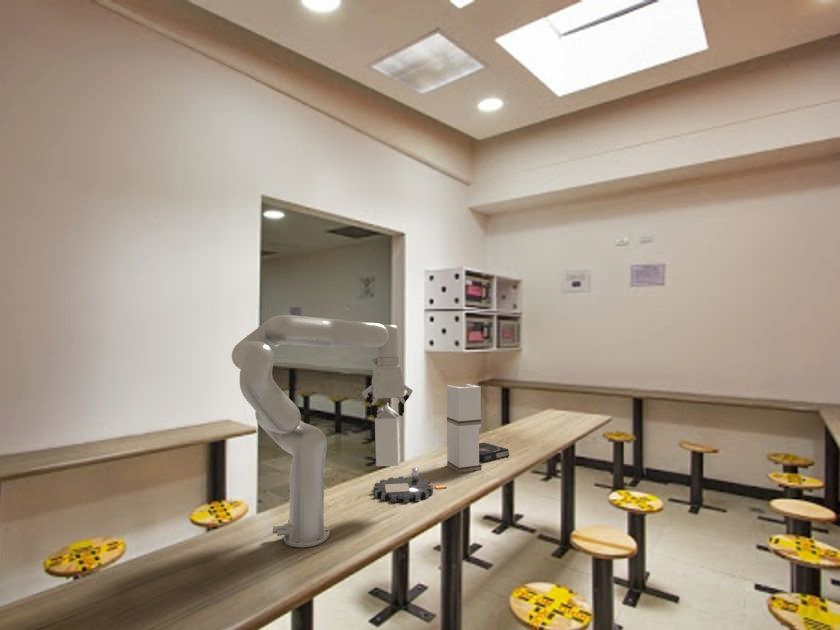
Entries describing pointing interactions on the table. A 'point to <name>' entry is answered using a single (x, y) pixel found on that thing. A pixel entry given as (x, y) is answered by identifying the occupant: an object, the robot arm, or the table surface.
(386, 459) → the milk carton
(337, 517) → the table surface
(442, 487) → the block
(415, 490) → the sprocket
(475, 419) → the banded white pillar
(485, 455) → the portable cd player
